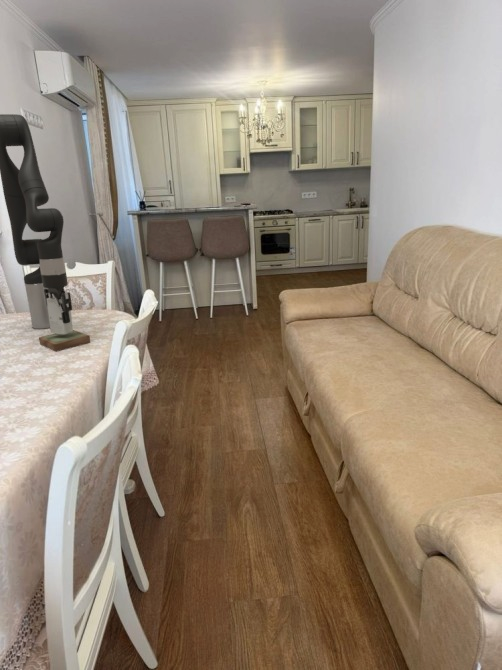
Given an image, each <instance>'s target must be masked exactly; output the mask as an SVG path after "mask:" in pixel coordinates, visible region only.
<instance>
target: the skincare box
mask: <svg viewBox="0 0 502 670" xmlns="http://www.w3.org/2000/svg"><path fill="white" fill-rule="evenodd" d="M58 301H59V303H62V299H60V300H58ZM47 306H48V313H49V321H50V333H51V334H68V333H70V332H72V331H73V330H74V327H73V320H72V310H70V311H69V317H70V322H69V323H63V320H62V314H61V313H62V312H61V310H60V307H58V306H57V304H56V302H55V299H53V298H47ZM68 306H69V304H68ZM62 307H63V305H62Z"/></svg>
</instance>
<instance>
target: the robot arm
mask: <svg viewBox="0 0 502 670" xmlns="http://www.w3.org/2000/svg"><path fill="white" fill-rule="evenodd" d="M29 126H30V125H29V124H28V121H27V119H26V118H25V117H24V116H23V115H21V114H12V113H11V114H9V113H8V114H3V113H1V114H0V178H1V184H2V186H1V187H2V192H3V198H4V202H5V206H6V211H7V214H8V219H9V222H10V228H11V236H12V243H13V244H12V245H13V250H14V257H15V259H16V262H17V264H19V266H20V265H21V266H30V265H39V266H38V267H37V269H35V270H34V271H31V272H29V273H27V274H25V275H24V277H23V281H24V286H25V292H26V293H25V294H26V297H27V303H28V308H29V314H30V320H31V325H32V326H31V327H32V328H33V329H36V330H37V329H48V328H50V321H49V313H48V306H47V298H53V299H55V302H56V304H57V306H58V307H60V310H61V312H62V313H61V314H62V320H63V323H69V322H70V317H69V311H70V310H71V311H72V310H73V305H72V298H71V296H72V295H71V293H70V292H66V291H65V287H66V286H67V287H68V284H69V283H68V277H67V269H66V264H65V261H64V256H63V249H62V236H63V230H64V216H63V214H62V212H61V211H60V210H59V209H57V208H53V207H51V208H50V207H48V208H38V207H41V206H44V205H45V204H47V203H48V202H49V200H50V198H49V197H50V196H49V193H48V190H47V188H46V186H45V183H44V180H43V178H42V173H41V171H40V167H39V162H38V158H37V154H36V153H37V152H36V149H35V146H34V145H35V144H34V141H33V137H32V133H31V129H30V127H29ZM7 147H22V148H23V159H22V162H21V165H20V167H19V168H18V167H17V166H16V164H15V163H14V162H13V160H12V159H11V157H10V155H9V152H8V149H7ZM26 225H27V227H28V228H29V230H31V231H33V232H34V233H45V232H46V233H48V232H50V233H49V236H48V237H47V238H43V239H42V238H33V239H31V238H29V239H23V235H24V230H25V227H26ZM60 299H62V303H59V301H58V300H60ZM68 304H69V306H68ZM62 305H63V307H62ZM50 329H51V328H50Z"/></svg>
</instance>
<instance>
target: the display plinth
mask: <svg viewBox="0 0 502 670" xmlns="http://www.w3.org/2000/svg"><path fill="white" fill-rule="evenodd" d="M38 341H39V345H41V346H43V347H45V348H47V349H49V350H52V351H54V352H59V351H60V352H61V351H64V350H67V349H72V348H75V347H78V346H83V345H86V344H89V343H91V338H90V335H89V334H87V333H84V332H81V331H78V330H75V329H73V331H72V332H70V333H68V334H55V333H51V334H48V335H44V336H39V337H38Z"/></svg>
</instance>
